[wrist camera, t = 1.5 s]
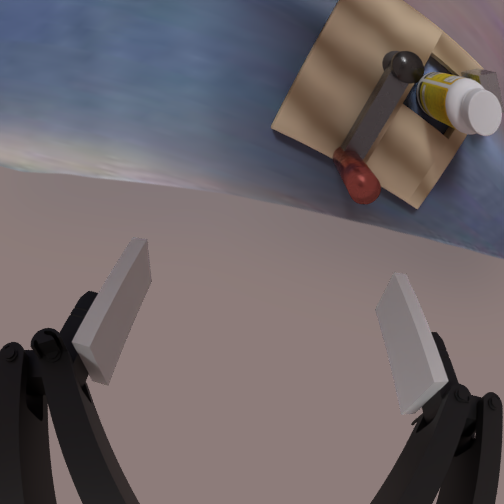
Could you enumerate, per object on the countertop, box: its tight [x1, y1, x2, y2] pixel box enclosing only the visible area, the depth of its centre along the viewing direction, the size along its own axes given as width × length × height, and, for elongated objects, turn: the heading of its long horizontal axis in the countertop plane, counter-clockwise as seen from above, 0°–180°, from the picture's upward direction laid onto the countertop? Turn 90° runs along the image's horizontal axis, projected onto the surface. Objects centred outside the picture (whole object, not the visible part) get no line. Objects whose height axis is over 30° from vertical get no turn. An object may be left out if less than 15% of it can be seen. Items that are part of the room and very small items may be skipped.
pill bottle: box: [416, 72, 502, 136], centre depth 24 cm, size 6×6×11 cm
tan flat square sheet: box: [271, 0, 484, 209], centre depth 29 cm, size 22×22×2 cm
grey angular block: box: [461, 69, 504, 113], centre depth 25 cm, size 5×3×6 cm, turn 26°
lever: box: [333, 51, 424, 204], centre depth 26 cm, size 16×4×9 cm, turn 156°
